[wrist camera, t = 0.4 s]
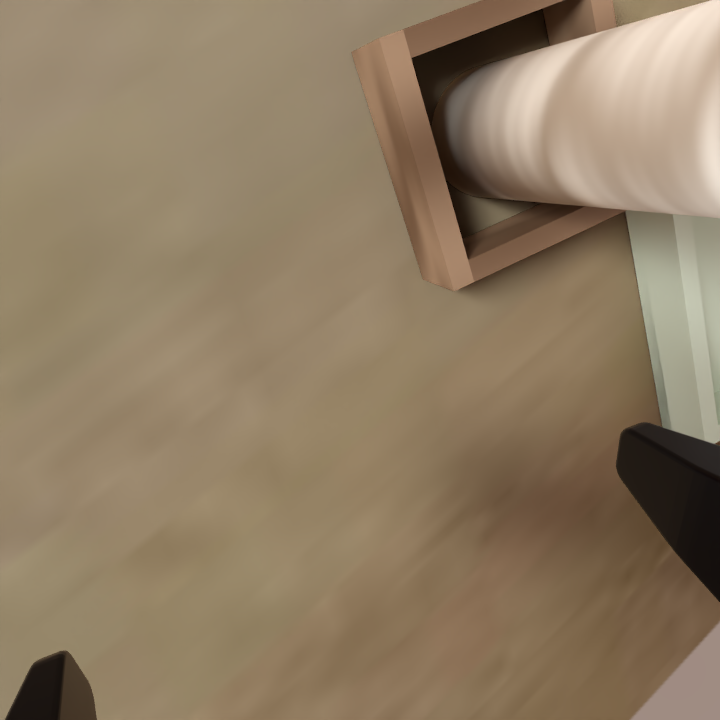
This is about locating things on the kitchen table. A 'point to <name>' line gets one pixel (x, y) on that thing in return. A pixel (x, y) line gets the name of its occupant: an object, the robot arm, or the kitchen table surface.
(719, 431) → the tray
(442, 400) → the kitchen table surface
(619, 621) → the kitchen table surface
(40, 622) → the kitchen table surface
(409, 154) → the brown square open box
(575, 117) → the peg
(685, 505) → the robot arm
